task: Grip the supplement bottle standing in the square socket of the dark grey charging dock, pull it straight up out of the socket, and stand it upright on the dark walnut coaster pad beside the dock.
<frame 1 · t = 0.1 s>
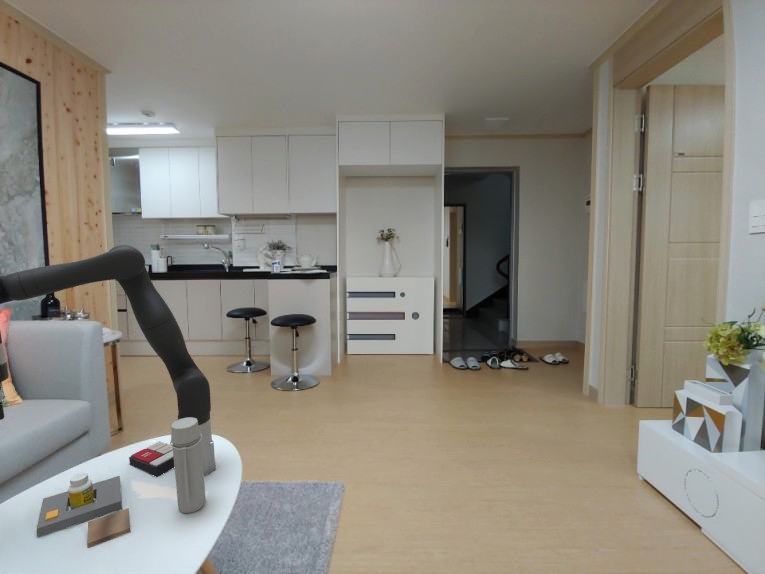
calculator: (159, 463, 134), on the table
supplement bottle: (83, 508, 112), resting in charging dock
charging dock: (83, 507, 112), on the table
coaster pad: (109, 528, 104), on the table
water bottle: (191, 508, 111), on the table
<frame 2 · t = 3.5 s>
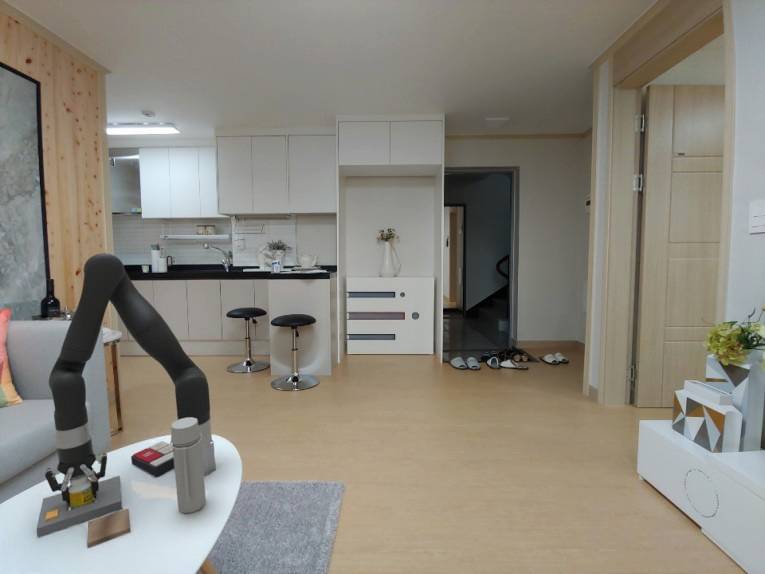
hand: (81, 496, 111), 3 cm above the table, tool pointing down, fingers closed on supplement bottle, 5 cm apart
supplement bottle: (83, 508, 112), resting in charging dock, touching gripper
everything else where it was.
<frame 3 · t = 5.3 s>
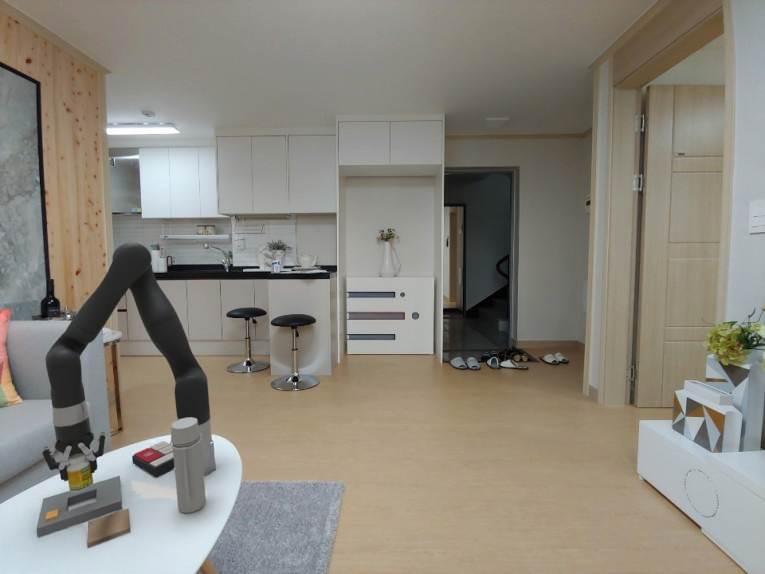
hand: (79, 475, 110), 10 cm above the table, tool pointing down, fingers closed on supplement bottle, 5 cm apart
supplement bottle: (81, 487, 111), point 6 cm above the table, touching gripper
everything else where it was.
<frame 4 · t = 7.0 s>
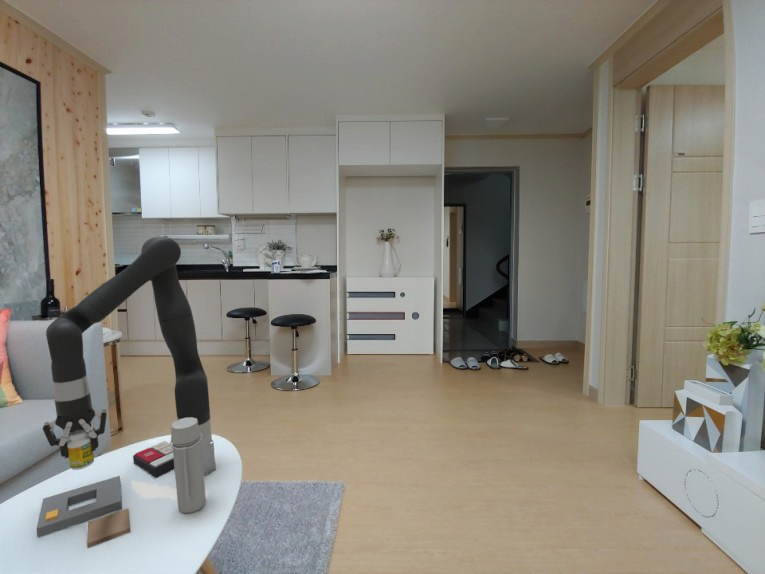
hand: (80, 452, 108), 17 cm above the table, tool pointing down, fingers closed on supplement bottle, 5 cm apart
supplement bottle: (82, 465, 109), point 14 cm above the table, touching gripper
everything else where it was.
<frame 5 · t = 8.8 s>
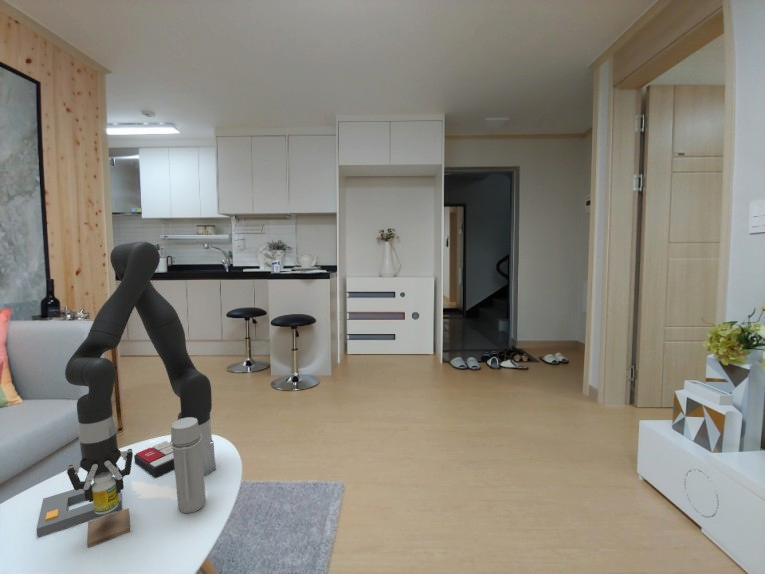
hand: (105, 495, 102), 9 cm above the table, tool pointing down, fingers closed on supplement bottle, 5 cm apart
supplement bottle: (106, 508, 103), point 6 cm above the table, touching gripper
when the fingers open (6 cm above the table, at t = 10.4 s): supplement bottle drops 1 cm, resting on coaster pad.
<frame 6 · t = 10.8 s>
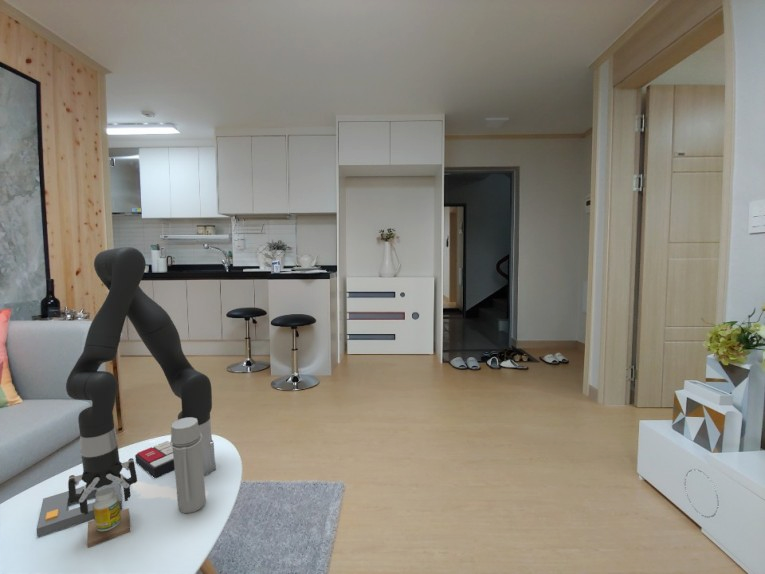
hand: (106, 505, 103), 7 cm above the table, tool pointing down, fingers open, 8 cm apart
supplement bottle: (108, 525, 104), point 1 cm above the table, touching coaster pad
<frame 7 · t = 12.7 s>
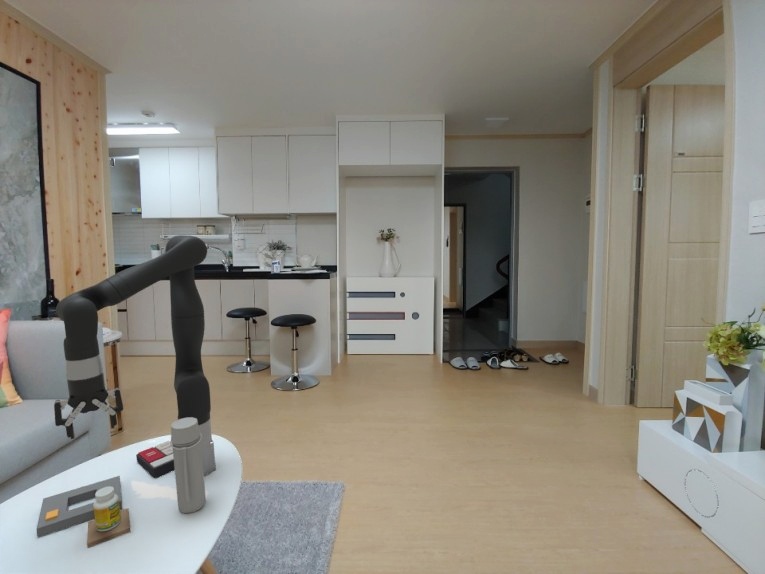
hand: (93, 432, 104), 25 cm above the table, tool pointing down, fingers open, 8 cm apart
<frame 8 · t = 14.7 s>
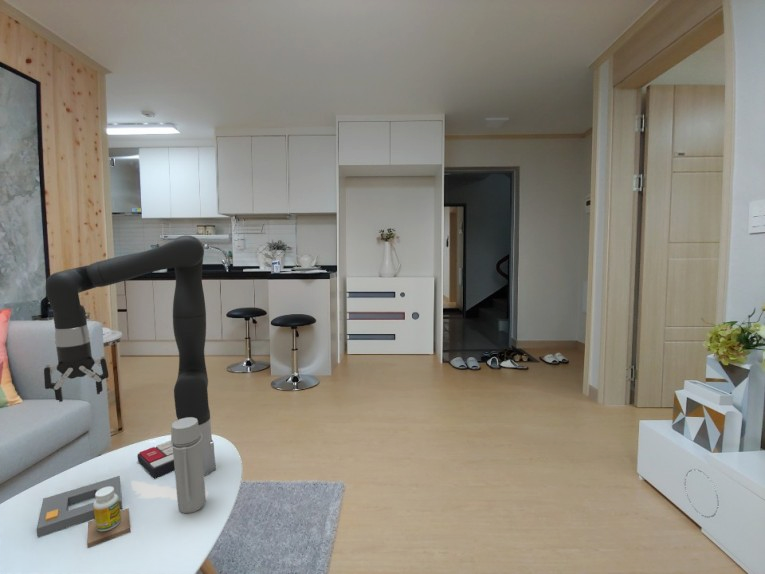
hand: (80, 397, 113), 30 cm above the table, tool pointing down, fingers open, 8 cm apart
at the end: supplement bottle inside the target area on the coaster pad (0.0 cm from its centre), point 1.0 cm above the coaster pad's base; supplement bottle tilted 0°; supplement bottle touching coaster pad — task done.
